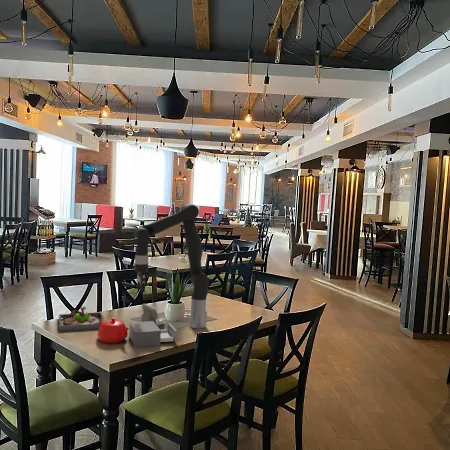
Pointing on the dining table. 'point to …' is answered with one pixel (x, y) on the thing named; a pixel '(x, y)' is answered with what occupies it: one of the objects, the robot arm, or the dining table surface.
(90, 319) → the miniature garden
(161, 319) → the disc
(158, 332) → the housing
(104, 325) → the teapot
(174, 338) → the grey drawer box
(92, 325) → the rectangular frame
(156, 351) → the dining table surface
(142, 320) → the grey tissue
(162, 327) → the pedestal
